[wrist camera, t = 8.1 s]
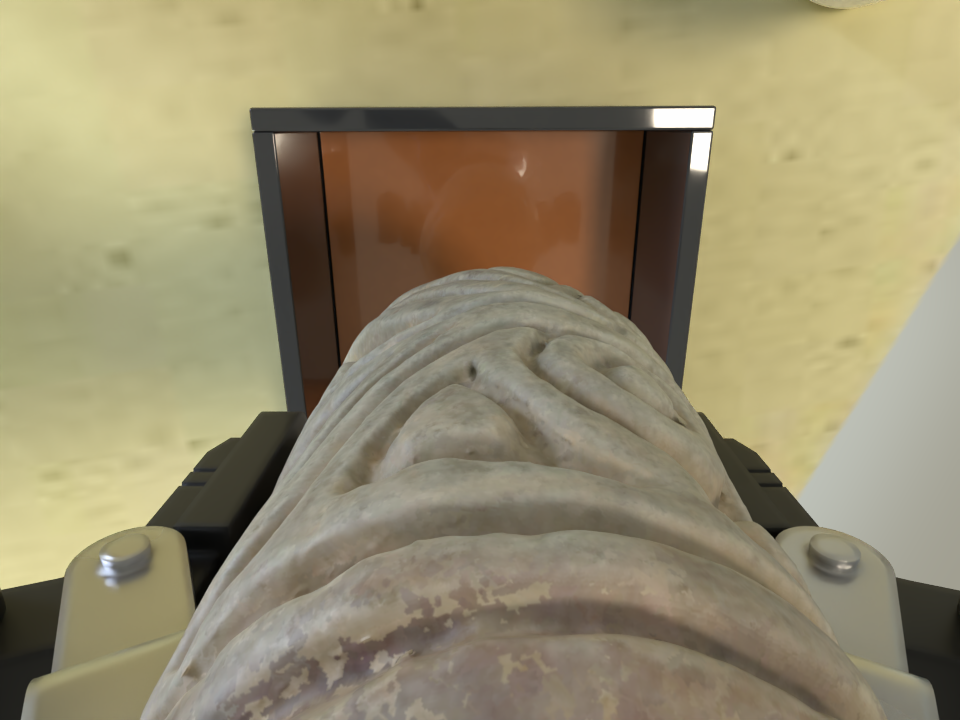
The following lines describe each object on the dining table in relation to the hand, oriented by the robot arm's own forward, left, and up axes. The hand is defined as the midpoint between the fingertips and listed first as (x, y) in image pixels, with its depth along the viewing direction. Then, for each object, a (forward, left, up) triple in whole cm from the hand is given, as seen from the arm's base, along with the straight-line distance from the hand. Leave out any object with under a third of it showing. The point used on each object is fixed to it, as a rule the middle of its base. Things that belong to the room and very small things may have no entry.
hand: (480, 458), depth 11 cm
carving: (0, 0, -4) cm, 4 cm away
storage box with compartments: (+6, 0, -13) cm, 14 cm away
